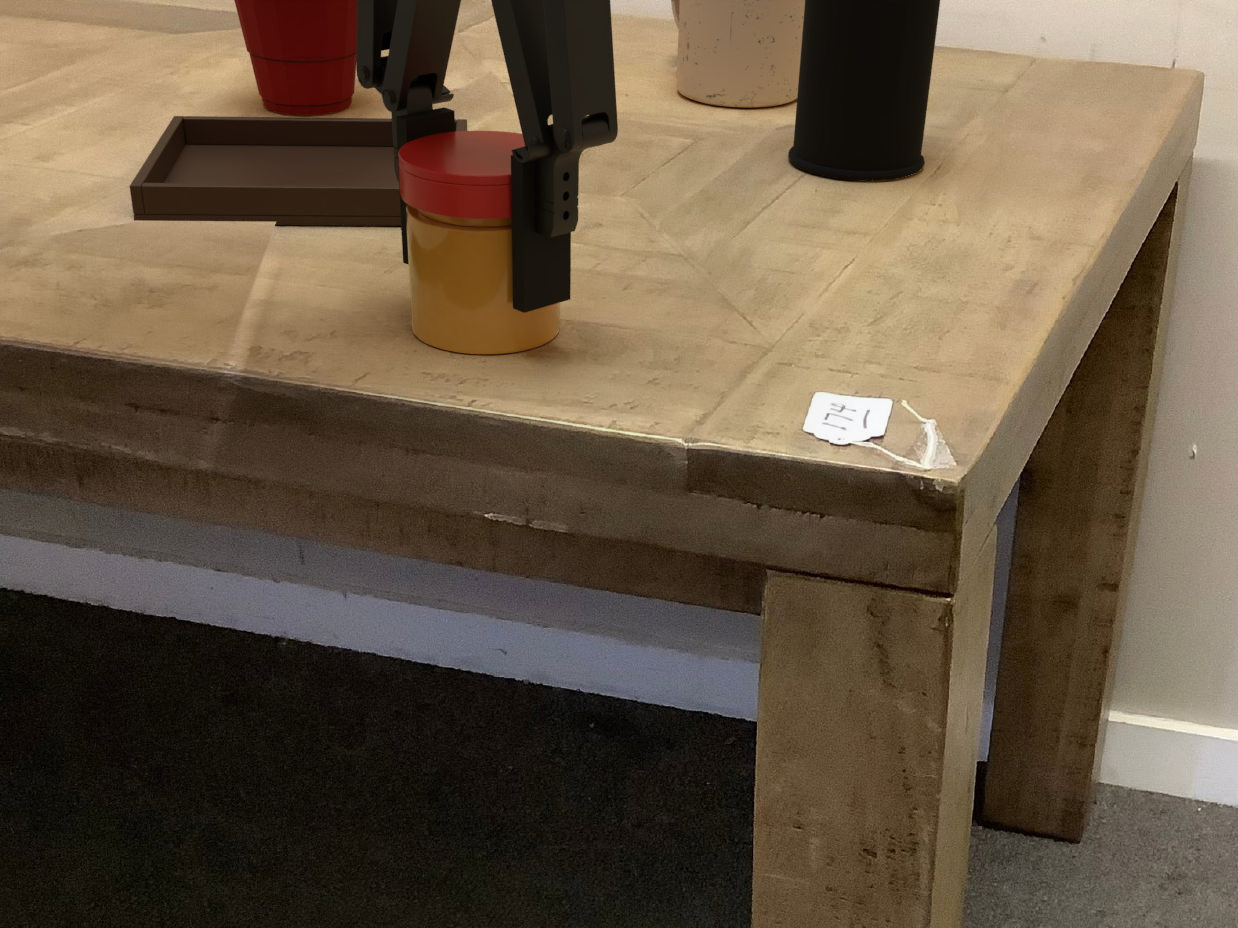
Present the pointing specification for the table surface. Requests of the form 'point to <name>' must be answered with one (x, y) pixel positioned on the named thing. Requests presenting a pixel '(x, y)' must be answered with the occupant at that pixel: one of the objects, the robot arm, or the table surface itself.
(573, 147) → the robot arm
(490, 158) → the cap
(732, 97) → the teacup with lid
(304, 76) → the plastic cup
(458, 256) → the jar
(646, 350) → the table surface
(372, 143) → the tray
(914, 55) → the aerosol can
